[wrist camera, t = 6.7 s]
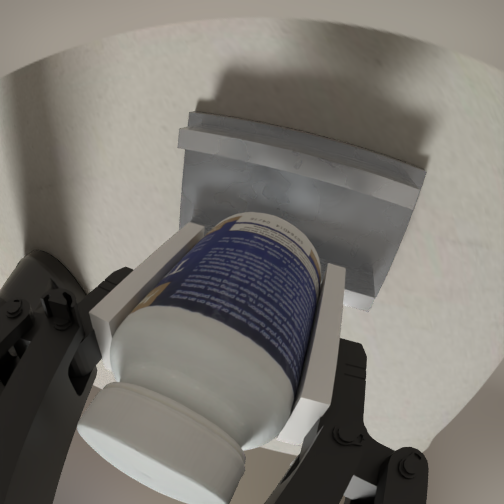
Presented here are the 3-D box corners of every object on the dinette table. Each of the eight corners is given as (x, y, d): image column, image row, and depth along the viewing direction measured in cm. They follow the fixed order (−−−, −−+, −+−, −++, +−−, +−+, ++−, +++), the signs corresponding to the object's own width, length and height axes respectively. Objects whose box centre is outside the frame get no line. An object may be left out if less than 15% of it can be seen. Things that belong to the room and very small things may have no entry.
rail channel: (183, 234, 25) (159, 256, 22) (194, 111, 20) (166, 115, 16) (375, 291, 22) (377, 323, 19) (423, 169, 17) (439, 184, 14)
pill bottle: (215, 190, 12) (21, 358, 4) (341, 236, 12) (296, 501, 3) (197, 290, 15) (79, 450, 7) (298, 329, 14) (232, 525, 6)
